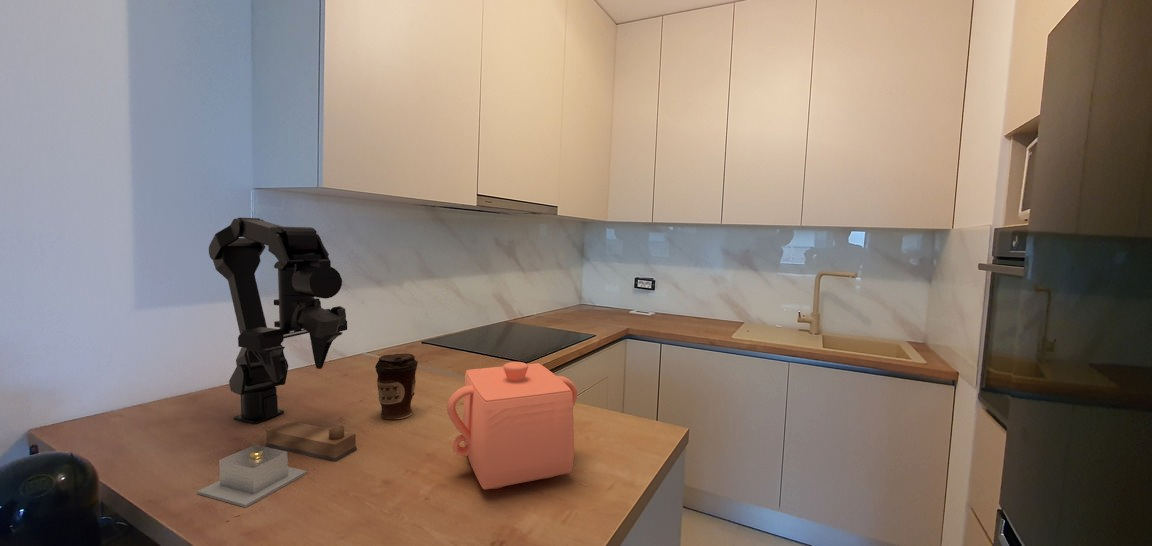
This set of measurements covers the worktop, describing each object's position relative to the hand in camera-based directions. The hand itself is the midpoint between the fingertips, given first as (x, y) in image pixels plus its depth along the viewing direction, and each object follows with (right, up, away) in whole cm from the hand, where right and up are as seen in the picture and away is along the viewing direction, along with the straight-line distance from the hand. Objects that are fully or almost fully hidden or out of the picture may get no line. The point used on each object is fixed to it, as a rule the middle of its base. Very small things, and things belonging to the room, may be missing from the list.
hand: (298, 375), depth 87 cm
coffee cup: (+14, -12, +12) cm, 22 cm away
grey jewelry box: (+3, -13, -16) cm, 21 cm away
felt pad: (+3, -13, -16) cm, 21 cm away
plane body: (+4, -12, -4) cm, 14 cm away
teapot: (+41, -14, -5) cm, 43 cm away
